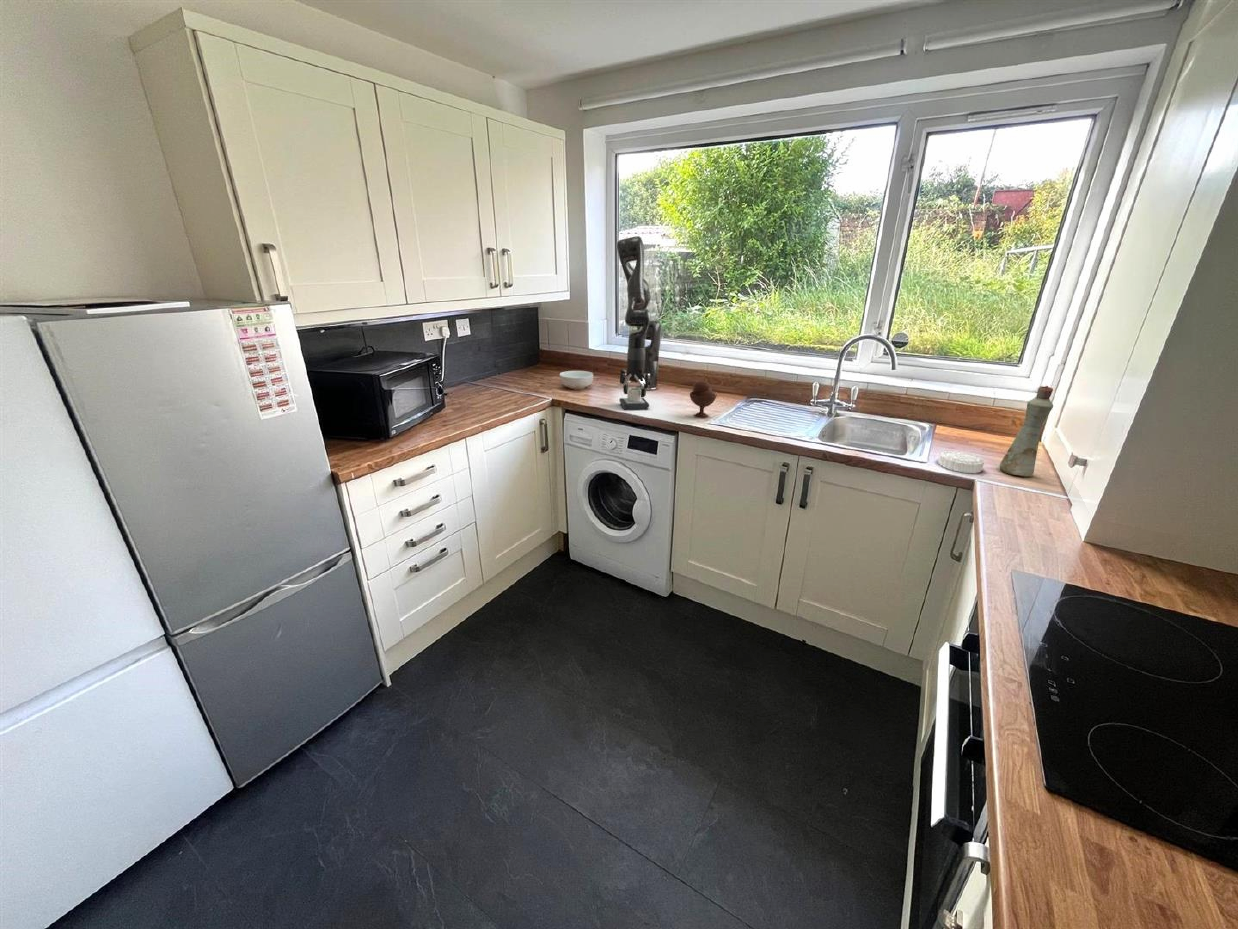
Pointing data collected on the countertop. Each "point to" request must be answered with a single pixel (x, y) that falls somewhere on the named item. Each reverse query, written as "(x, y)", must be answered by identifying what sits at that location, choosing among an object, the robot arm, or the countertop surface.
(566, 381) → the cereal bowl
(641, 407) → the scale
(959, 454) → the mooncake
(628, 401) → the scale pan
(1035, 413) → the bottle
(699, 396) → the ice cream bowl
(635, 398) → the white short cylinder
